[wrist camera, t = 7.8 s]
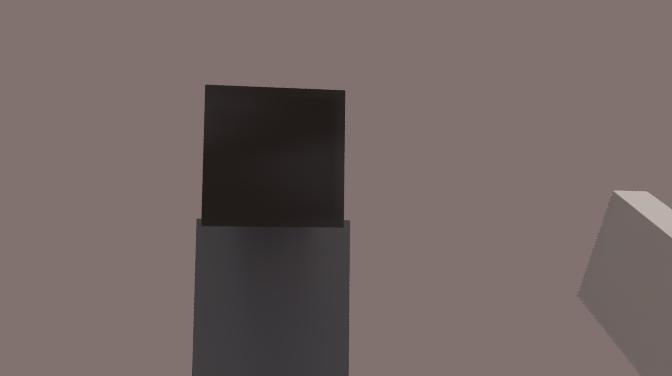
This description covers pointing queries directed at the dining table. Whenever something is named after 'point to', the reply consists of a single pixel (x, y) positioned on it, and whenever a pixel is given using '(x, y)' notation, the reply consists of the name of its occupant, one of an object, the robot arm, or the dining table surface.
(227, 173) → the wooden bar
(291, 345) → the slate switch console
